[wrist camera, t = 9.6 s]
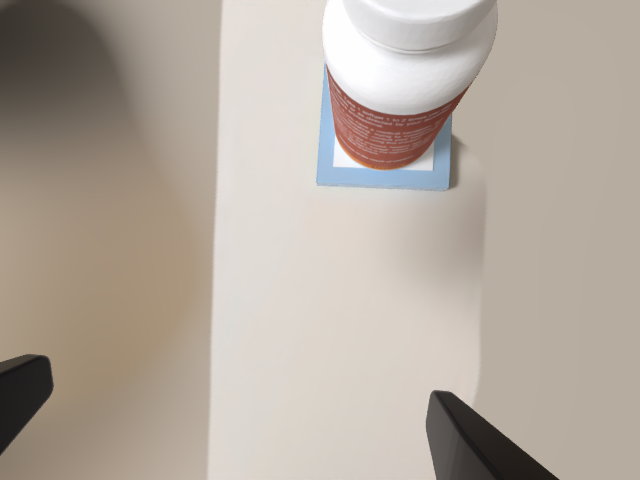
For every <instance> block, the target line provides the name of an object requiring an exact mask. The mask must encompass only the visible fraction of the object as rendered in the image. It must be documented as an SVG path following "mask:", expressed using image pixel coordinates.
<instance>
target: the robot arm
mask: <svg viewBox="0 0 640 480" xmlns="http://www.w3.org/2000/svg"><path fill="white" fill-rule="evenodd" d="M53 387H54V385H53V377H52V370H51V363H50V360H49V358H48V357H47V356H44V355H35V354H26V355H23V356H19V357H16V358H13V359H9V360H6V361H3V362H0V456H1V454H2V453H3V452H4V451H5V450H6V448H7V447H8V446H9V445H10V443H11V442H12V441H13V440H14V439H15V438H16V436H17V435H18V434H19V433H20V432H21V430H22V429H23V428H24V427H25V426H26V424H27V423H28V422H29V421H30V419H32V417H33V416H34V415H35V414H36V412H37V411H38V410H39V409H40V408H41V406H42V405H43V404H44V403H45V402H46V401H47V399H48V398H49V397H50V395H51V393H52V391H53ZM426 432H427V437H428V442H429V446H430V451H431V456H432V460H433V465H434V470H435V474H436V479H437V480H559V479H558V478H557V477H555V476H554V475H553V474H552V473H550V472H549V471H548V470H547V469H546V468H544V467H543V466H542V465H540V464H539V463H538V462H537V461H536V460H534V459H533V458H532V457H531V456H530V455H528V454H527V453H526V452H524V451H523V450H522V449H521V448H520V447H518V446H517V445H516V444H515V443H513V442H512V441H511V440H510V439H509V438H507V437H506V436H505V435H503V434H502V433H501V432H500V431H499V430H497V429H496V428H495V427H494V426H493V425H491V424H490V423H489V422H488V421H486V420H485V419H484V418H483V417H481V416H480V415H479V414H478V413H477V412H475V411H474V410H473V409H472V408H470V407H469V406H468V405H467V404H465V403H464V402H463V401H462V400H461V399H459V398H458V397H457V396H456V395H454V394H453V393H452V392H449V391H439V390H434V391H432V393H431V395H430V400H429V405H428V411H427V417H426Z"/></svg>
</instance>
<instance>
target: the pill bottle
mask: <svg viewBox="0 0 640 480" xmlns="http://www.w3.org/2000/svg"><path fill="white" fill-rule="evenodd" d="M497 21H498V12H497V0H328V2H327V5H326V8H325V12H324V18H323V28H322V37H323V49H324V58H325V65H326V73H327V80H328V87H329V94H330V102H331V110H332V117H333V124H334V131H335V134H336V138H337V140H338V143H339V145H340V146H341V148H342V149H343V151H344V152H345V153H346V155H347V156H348V157H349V158H350V159H352V160H353V161H354V162H356V163H357V164H359V165H361V166H363V167H365V168H368V169H371V170H376V171H392V170H397V169H401V168H403V167H406V166H408V165H410V164H411V163H413V162H415V161H416V160H417V159H419V158H420V157H421V156H422V155H423V154H424V153H425V152H426V151H427V149H428V148H429V147H430V146H431V144H432V143H433V141H434V140H435V138H436V136H437V135H438V133H439V132H440V130H441V129H442V127H443V126H444V124H445V123H446V121H447V120H448V118H449V117H450V115H451V114H452V112H453V111H454V109H455V108H456V106H457V105H458V103H459V102H460V100H461V98H462V97H463V95H464V94H465V92H466V91H467V89H468V88H469V86H470V85H471V84H472V82H473V80H474V79H475V78H476V76H477V75H478V73H479V71H480V69H481V68H482V66H483V65H484V63H485V61H486V59H487V57H488V55H489V53H490V51H491V48H492V45H493V42H494V39H495V35H496V30H497Z"/></svg>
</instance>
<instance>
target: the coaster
mask: <svg viewBox="0 0 640 480" xmlns="http://www.w3.org/2000/svg"><path fill="white" fill-rule="evenodd" d="M451 125H452V114H451V115H450V117H449V118H448V120H447V121H446V123H445V124H444V126H443V127H442V129H441V130H440V132H439V133H438V135H437V136H436V138H435V140H434V141H433V143H432V144H431V146H430V147H429V148H428V149H427V151H426V152H425V153H424V154H423V155H422V156H421V157H420V158H419V159H417V160H416V161H415V162H413V163H411V164H410V165H408V166H406V167H403V168H401V169H397V170H392V171H376V170H371V169H368V168H365V167H363V166H361V165H359V164H357V163H356V162H354V161H353V160H352V159H350V158H349V157H348V156H347V155H346V153H345V152H344V151H343V149H342V148H341V146H340V145H339V143H338V140H337V138H336V134H335V131H334V124H333V117H332V110H331V102H330V94H329V87H328V80H327V73H326V65H324V79H323V93H322V107H321V122H320V136H319V150H318V164H317V179H316V183H317V185H319V186H342V187H365V188H388V189H411V190H434V191H445V190H447V189H448V188H449V172H450V149H451V127H452V126H451Z"/></svg>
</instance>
